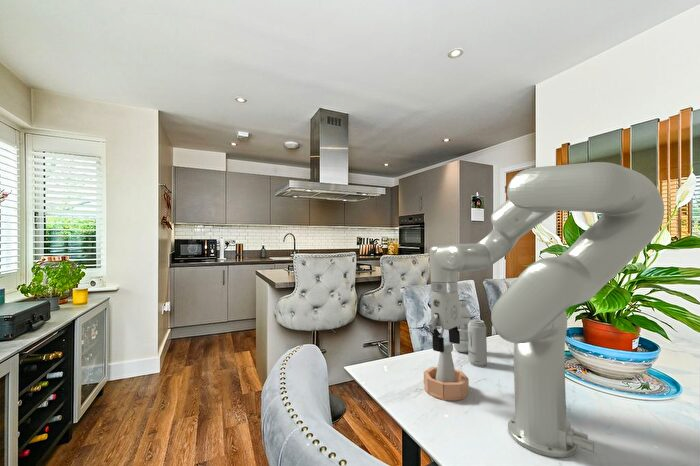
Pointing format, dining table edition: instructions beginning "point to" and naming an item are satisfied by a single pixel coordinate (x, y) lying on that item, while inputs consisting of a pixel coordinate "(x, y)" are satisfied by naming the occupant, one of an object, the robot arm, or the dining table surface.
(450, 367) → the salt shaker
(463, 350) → the plastic bottle
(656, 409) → the dining table surface
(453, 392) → the octagonal orange bowl
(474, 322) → the energy drink can
